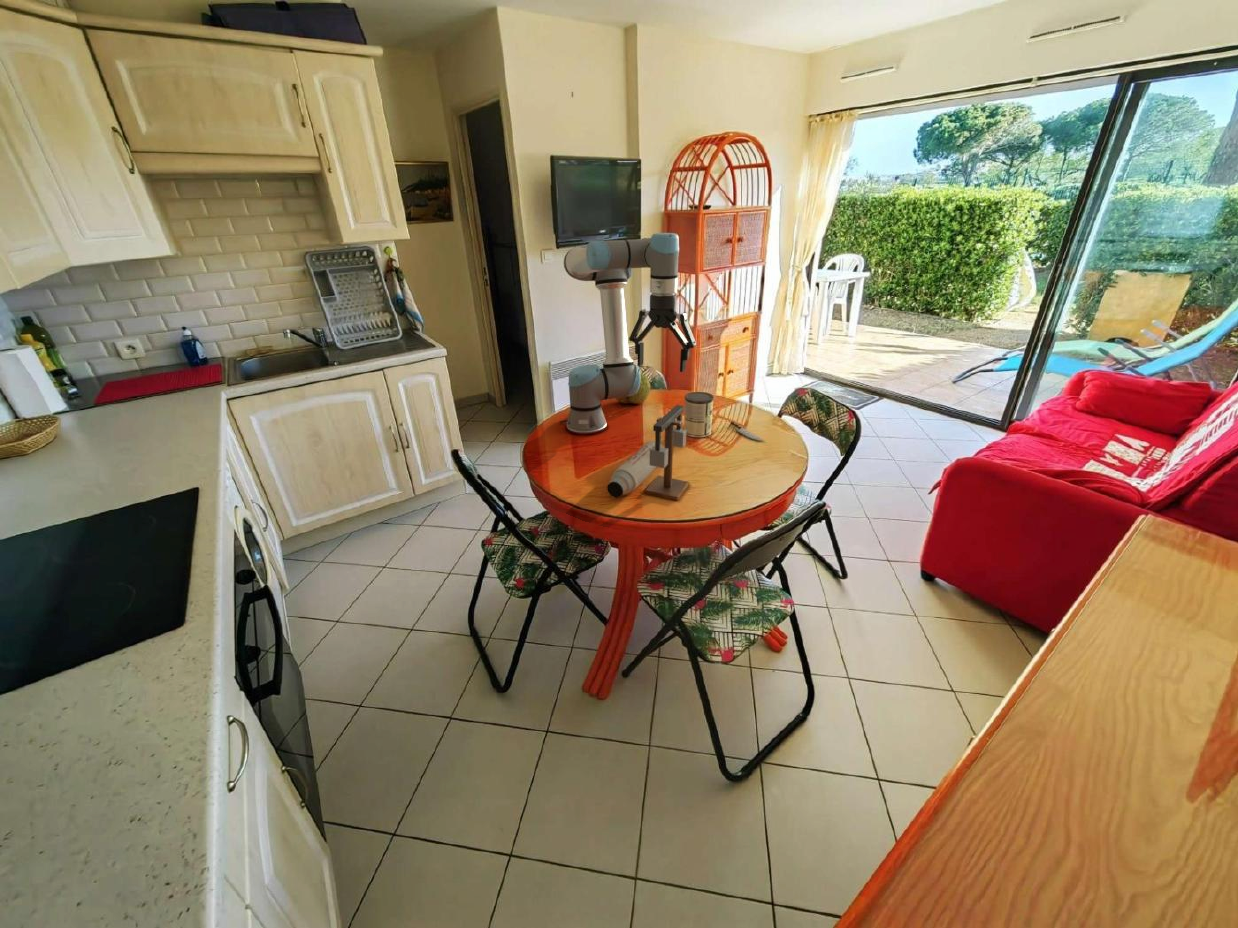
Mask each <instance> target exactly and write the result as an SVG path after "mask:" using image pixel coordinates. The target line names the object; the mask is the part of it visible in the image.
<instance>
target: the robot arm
mask: <svg viewBox="0 0 1238 928" xmlns="http://www.w3.org/2000/svg"><path fill="white" fill-rule="evenodd" d="M679 254H680V237H679V235H678V234H677V233H675V232H656V233H653V234H652V235H651V237H643V238H640V239H638V238H637V239H622V240H621V239H619V240H602V239H601V240H593V241H589V242H588V243H587V245H581V246H576V247H574V248H571V249H568V251H566V253H565V255H564V257H563V268H564V271H565V272H566V274H567V275H568V276H569V277H571V278H573V280H577V281H581V282H594V287H595V288H596V289H597V290H599V293H600V294H599V295H600V303H601V315H602V316H601V317H602V327H603V336H604V338H603V339H604V348H605V360H604V361H603V362H602V368H601V367H600V366H599V365H598V364H584V365H579V366H577V367H574V368H573V369H571V370H570V371H569V373H568V383H567V386H568V392H569V393H568V395H569V408H570V409H569V412H568V416H567V419H564V420H561V421H560V422H559V423H560V424H564V423H566V430H567V431H568V432H570V433H572V434H574V435H581V436H590V435H591V436H592V435H596V434H599V433H602V432H604V431H605V430H606V429H607V427H608V426H607V420H606V417H605V414H604V412H603V409H602V401H606V400H614V399H616V398H622V397H623V398H626V397H629V396H633V395H635V394H636V393H637V392H638V390H639V387H640V372H641V371H640V367H641V366H643V365H644V359H645V358H644V353H645V352H644V351H645V350H644V349H645V343H644V342H643V340H644V339H645V338H646V336H647V335H648V334H649V333H650V332H651V331H652V330H653V329H654V328H656V329H657V328H658V329H660V328H662V329H664V330H665V329H668V330H669V331H671V332H672V334H673V336H674V337H675V339H676V340H677V341H678V342H679V344H680V345H681V347H682V348H681V349H680V359H679V372H680V373H683V372H685V371H686V368H687V366H686V365H687V361H688V360H689V358H690V350H691V349H694V348H695V347H696V346H697V341H696V339H695V336H694V334H693V332H692V329H691V327H690V324H689V321H688V313H687V312H683V313H677V302H678V301H677V300H678V296H677V294H676V293H677V292H678V275H679V274H678V273H679V256H680V255H679ZM643 268H644V269H645V268H647V269H648V268H649V269H650V270H649V271H650V274H649V279H650V281H649V292H650V293H651V294H650V295H649V310H647V309H646V308H643V309H641V310H639V311H638V318H637V321H636V323H635V325H634V327H633V329H632V331H631V333H630V335H628V325H627V313H626V301H625V287H626V286H627V285H628V280H629V279H630V278H631V277H632V274H633V269H643ZM648 317H649V320H650V322H648V324H647V325H646V327H645V328H644V329H643V330H642V331H641V329H642V327H643V324H644V322H645V320H646V319H647V318H648ZM676 320H678V322H679V323H680V326H681V329H682V331H681V330H680V328H679V325H678V323H677V322H676ZM640 331H641V332H640ZM682 332H683V333H682ZM639 333H640V334H639ZM628 336H629V337H628ZM629 342H633V343H634V354H635V355H637V364H636V363H635V361H634V359H633V358H632V357H631V356H630V350H629Z"/></svg>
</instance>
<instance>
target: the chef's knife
mask: <svg viewBox="0 0 1238 928" xmlns="http://www.w3.org/2000/svg"><path fill="white" fill-rule="evenodd" d="M730 425H731V426H734V427H736V428H737V430H736V432H738V433H740V434H742V435H743V436H745V437H746V438H749V439H750V440H751V439H752V440H754V441H758V442H764V440H762V439H761V438H760V437H759V436H757V435H755V434H754V433H752V432H750V431H748V430H747V429H745V428H743V427H742V426H740V425H739V424H737V423H736V422H734V421H731V422H730Z"/></svg>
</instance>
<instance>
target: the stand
mask: <svg viewBox="0 0 1238 928" xmlns="http://www.w3.org/2000/svg"><path fill="white" fill-rule="evenodd" d="M661 418H662V417H658V418H657V419H656V423H657V422H658V421H659V420H660V419H661ZM683 424H684V421H683V420H682V421H678V420H677V419H675V420H674V421H673V422H672V423H671V424H670V425H669V426H668V427H667V428H666V429H665V430H664V448H668V464H667V466H666V467H665V468H663V476H662V475H657V477H656V478H655V479H653V481H652V482H651V483H649V486H647V487H646V488H645V490H644V491H645V492H644V494H647V495H650V496H655V497H659V498H663V499H668V500H673V501H678V500H679V499H680V498H681V496H682V495H683V494H684V493H685V492H686V490H687V489H688V488H689V486H690V481H687V480H681V479H677V478H673V460H674V458H673V455H674V446H673V431H674V428H675V426H681V427H682V425H683Z"/></svg>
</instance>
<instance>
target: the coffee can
mask: <svg viewBox="0 0 1238 928" xmlns="http://www.w3.org/2000/svg"><path fill="white" fill-rule="evenodd" d="M714 398H715V397H714V395H713V394H711V393H709V392H704V391H692V392H688V393H686V394H685V395H684V418H683V419H684V421H683V429H686V436H688V437H690V438H706V437H709V436H711V434H712V425H713V423H712V421H713V411H714V410H713V409H714V408H713V407H714Z"/></svg>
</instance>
